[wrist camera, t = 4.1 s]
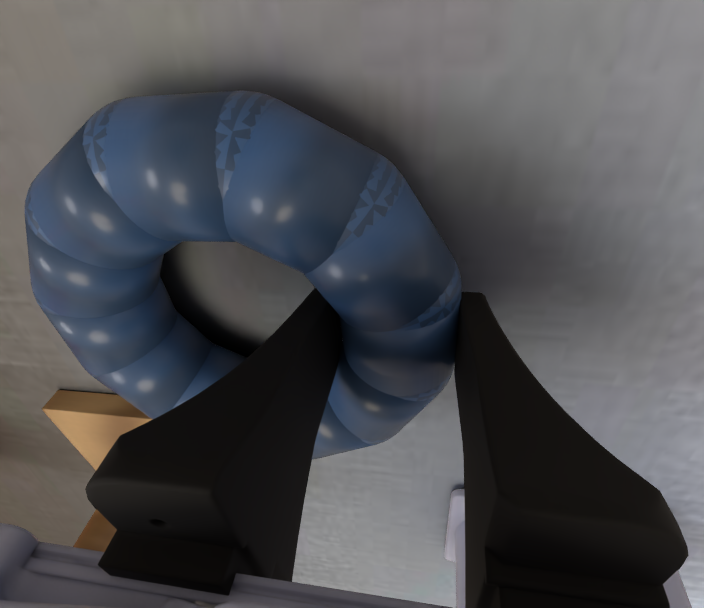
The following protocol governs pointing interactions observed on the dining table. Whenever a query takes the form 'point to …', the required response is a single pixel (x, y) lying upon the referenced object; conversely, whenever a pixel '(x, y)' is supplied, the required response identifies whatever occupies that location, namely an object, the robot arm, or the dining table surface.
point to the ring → (251, 231)
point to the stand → (93, 441)
